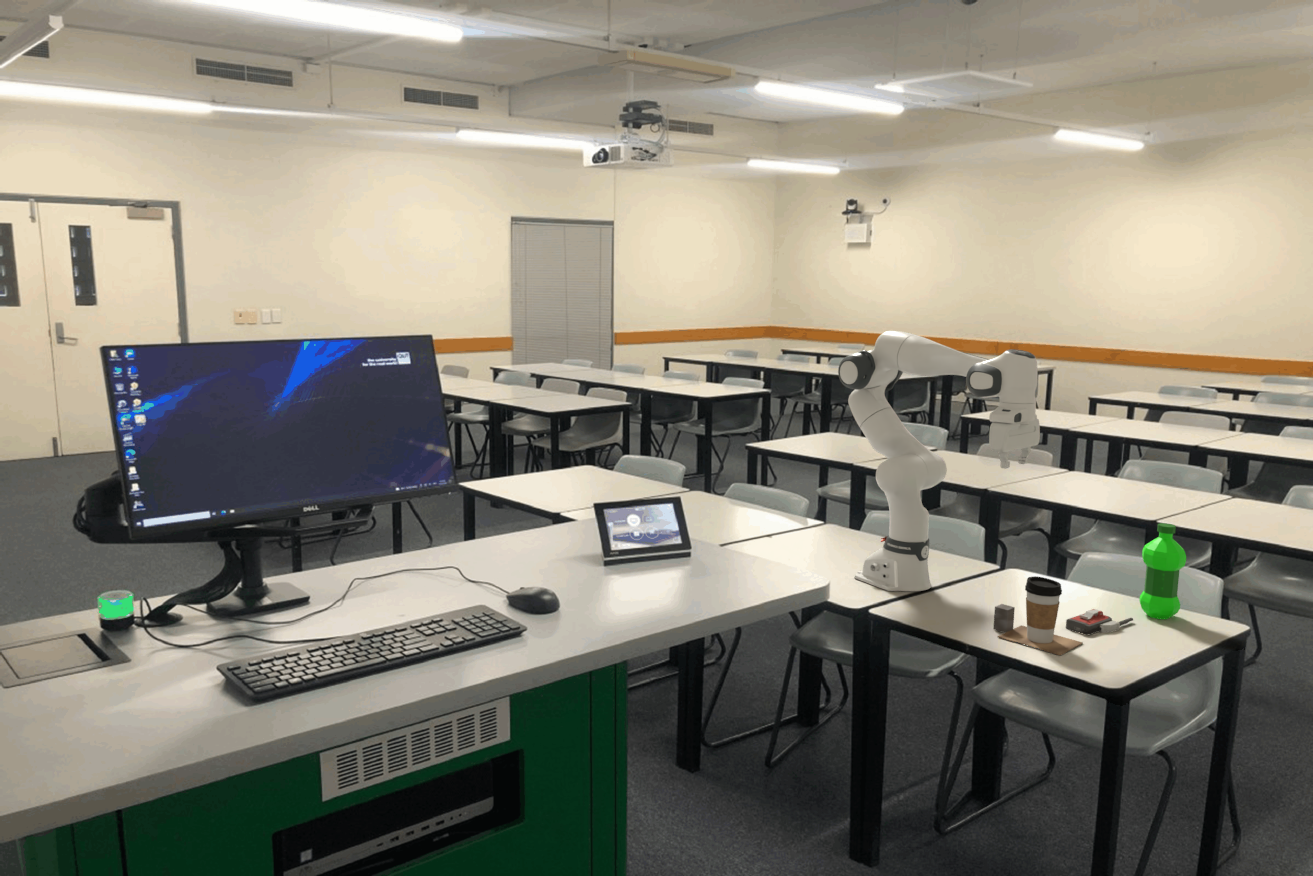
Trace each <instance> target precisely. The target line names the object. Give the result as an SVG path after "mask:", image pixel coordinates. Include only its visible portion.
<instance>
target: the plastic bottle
mask: <svg viewBox="0 0 1313 876" xmlns="http://www.w3.org/2000/svg"><path fill="white" fill-rule="evenodd" d="M1176 529H1177V528H1176V525H1175V524H1172V523H1165V522H1164V523H1157V530H1156V531H1157V532H1158V537H1156V538H1154V539H1153V540H1151V541H1149V542H1148V543H1146V544H1145V545H1143V548H1142V551H1141V553H1142V554H1141V555H1142V556H1141V558H1142V560H1143V563H1144V564H1145V565H1146V568H1145V578H1144V588H1143V591H1142V592H1141V593H1140V595H1139V598H1138V599H1139V600H1138V601H1139V604H1140V607H1141V610H1142V611H1143V612H1144V613H1145V614H1146V615H1147V616H1148V617H1149V616H1150V618H1152V619H1157V620H1168V619H1170V618H1172V617H1173V616H1176V615H1177V614H1178V612H1179V611H1180V609H1181V602H1180V600H1179V597H1178V589H1179V579H1180V570H1181V569H1183V568H1184V567H1185V565H1186V562H1187V555H1186V551H1185V549H1184V548H1183V547H1182V546H1181V545H1180V544H1179V543H1178V542H1177V541H1176V540H1175V539H1174V538H1173V537H1174V536H1173V535H1174V534H1176Z"/></svg>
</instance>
